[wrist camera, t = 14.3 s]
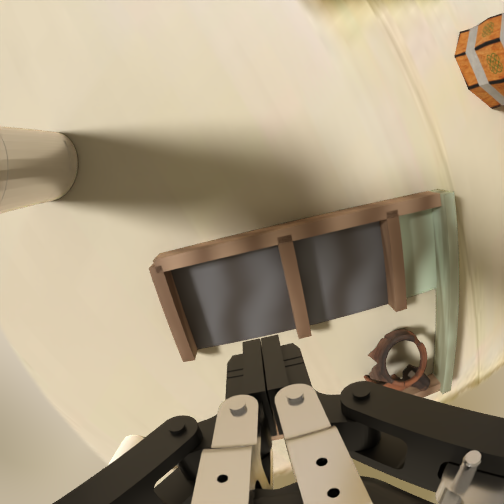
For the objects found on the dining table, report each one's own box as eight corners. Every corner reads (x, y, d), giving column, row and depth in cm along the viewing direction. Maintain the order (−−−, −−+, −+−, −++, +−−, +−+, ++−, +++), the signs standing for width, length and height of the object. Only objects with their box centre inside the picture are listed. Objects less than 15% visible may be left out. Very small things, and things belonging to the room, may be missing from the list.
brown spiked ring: (344, 374, 45) (363, 379, 37) (372, 319, 47) (395, 314, 39) (404, 404, 43) (429, 412, 35) (428, 351, 45) (457, 351, 37)
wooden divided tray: (223, 435, 47) (221, 452, 43) (153, 255, 39) (144, 264, 35) (440, 377, 45) (450, 390, 41) (437, 189, 37) (454, 192, 33)
